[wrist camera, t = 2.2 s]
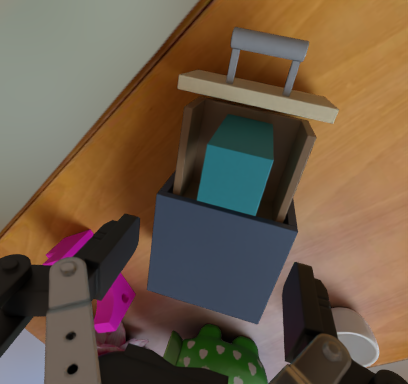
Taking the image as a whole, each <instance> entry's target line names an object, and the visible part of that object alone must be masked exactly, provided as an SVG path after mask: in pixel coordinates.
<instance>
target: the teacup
mask: <svg viewBox="0 0 408 384" xmlns="http://www.w3.org/2000/svg"><path fill="white" fill-rule="evenodd" d="M331 310H332V314H333V319H334V323H335V327H336V332H337V336H338V340H340V341H341V342H342V343H343V344H344V345H345V347H346V348H347V350H348V351H349V353H350V356H351V358H352V359H353V360H354V361H355V362H357V363H358V364H360V365H362V366H363V367H367V366H370V365H371V364H373V363H374V362H375V361H376V360H377V359H378V357H379V347H378V343H377V341H376V338H375V336H374V334H373V332H372V330H371V328H370V326H369V324H368V323H367V322H366V320H365V319H364V318H363V317H362V316H361V315H360V314H358V313H357V312H355V311H353V310H351V309H348V308H342V307H337V308H331Z"/></svg>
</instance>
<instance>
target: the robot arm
mask: <svg viewBox="0 0 408 384" xmlns="http://www.w3.org/2000/svg"><path fill="white" fill-rule="evenodd" d="M139 228H140V218H139V217H136V216H133V215H129V214H124V215H123V216H122V217H121V218H120V219H119V220H118V221H114V220H112V221H110V222H108V223H106V224H104V225H103V226H102V227H101V228H100V229H99V230H98V231H97V232H96V233H95V234H94V235H93V236H92V238H90V239H89V240H88V241H87V242H86V243H85V244H84V245H83V246H82V247H81V249H80V250H79V251H78V252H77V253H76V254H75V255H74V256H73V257H66V258H63V259H60V260H58V261H57V262H55V263H54V264H53V265H31V262H30V259H29V258H28V257H27V256H25V255H20V254H14V255H8V256H5V257H3V258H0V357H1V356H2V355H3V353H5V351H6V350H7V349H8V348H9V346H10V345H11V344H12V343H13V341H14V340H15V339H16V338H17V336H18V335H19V334H20V333H21V331H22V330H23V329H24V328H25V327H26V325H27V324H28V323H29V322H30V320H31V319H32V318H33V317H34V316H46V343H45V346H46V347H45V377H44V378H45V379H44V384H228V379H229V376H226V375H224V374H221V373H218V372H215V371H212V370H209V369H206V368H198V367H179V366H175V365H173V364H171V363H170V362H168V361H167V360H165V359H164V358H163V357H161V356H160V355H158V354H157V353H155V352H154V351H152V350H149V349H146V348H143V347H140V346H137V345H134V344H131V343H128V345H127V347H126V349H125V351H112V352H108V353H105V354H101V355H99V356H98V352H97V344H96V336H95V327H94V319H93V311H92V303H91V301H92V300H93V299H96V300H99V301H102V299H103V298H104V296H105V295H106V293H107V292H108V290H109V289H110V287H111V286H112V284H113V283H114V281H115V280H116V279H117V277H118V276H119V274H120V273H121V271H122V270H123V268H124V267H125V265H126V264H127V262H128V261H129V259H130V258H131V256H132V255H133V253H134V252H135V250H136V248H137V245H138V241H139ZM282 302H283V326H284V350H285V361H286V362H289V363H291V364H287V365H286V366H285V367H284V368H283V369H282V370H281V371H280V372H279V373H278V374H277V375H276V376H275V377H274V378H273V379H272V380H271V381H270V383H269V384H408V383H407V382H406V381H405V380H404V379H403V378H402V377H401V376H399V375H398V374H396V373H394V372H392V371H389V370H379V371H378V372H377V373H376V374H375V373H373V372H371V371H370V370H368V369H367V368H365V367H363V366H362V365H360V364H358V363H357V362H355V361H354V360H353V359H352V358H351V356H350V353H349V351H348V350H347V348H346V347H345V345H344V344H343V343H342V342H341V341H340V340H338V336H337V332H336V327H335V323H334V319H333V314H332V310H331V305H330V301H329V297H328V292H327V289H326V288H325V286H324V285H323V283H322V282H321V280H318V279H315V278H314V275H313V270H312V267H311V266H308V265H305V264H301V263H298V262H295V263H294V264H293V266H292V269H291V271H290V273H289V275H288V277H287V280H286V282H285V284H284V287H283V293H282Z"/></svg>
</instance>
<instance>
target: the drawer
mask: <svg viewBox="0 0 408 384" xmlns="http://www.w3.org/2000/svg"><path fill="white" fill-rule="evenodd" d="M308 46H309V41H305V40H300V39H295V38H290V37H284V36H279V35H274V34H269V33H264V32H259V31H254V30H248V29H243V28H238V27H235V28H234V30H233V33H232V38H231V48H233V49H232V54H231V59H230V64H229V69H228V74H227V76H226V75H221V74H217V73H212V72H207V71H203V70H194V71H191V72H187V73H183V74H180V75H179V79H178V87H177V88H178V89H180V90H185V91H189V92H194V93H198V94H203V95H207V96H212V97H216V98H221V99H225V100H229V101H234V102H238V103H243V104H247V105H252V106H256V107H261V108H265V109H270V110H274V111H278V112H283V113H287V114H292V115H296V116H301V117H305V118H310V119H314V120H319V121H323V122H328V123H332V124H333V123H334V121H335V118H336V116H337V113H338V111H339V109H338V108H337V107H335V106H334V105H333V104H332V103H331V102H330V101H329V100H328V99H327V98H325V97H324V96H319V95H315V94H310V93H305V92H301V91H296V90H292V87H293V83H294V80H295V77H296V74H297V71H298V68H299V64H300V62H303V60H304V58H305V56H306V53H307V50H308ZM240 50H245V51H250V52H255V53H260V54H265V55H270V56H275V57H280V58H285V59H290V60H293V61H292V63H291V67H290V70H289V73H288V77H287V80H286V83H285V87H284V88H282V87H277V86H273V85H268V84H263V83H259V82H254V81H249V80H245V79H240V78H235V72H236V67H237V63H238V58H239V53H240ZM299 61H300V62H299ZM227 114H231V115H235V116H240V117H244V118H248V119H253V120H257V121H261V122H266V123H270V124H273V159H274V161H273V164H272V167H271V170H270V173H269V176H268V179H267V182H266V185H265V189H264V192H263V195H262V198H261V201H260V204H259V207H258V210H257V213H256V216H257V217H261V218H265V219H269V220H272V221H276V222H280V223H283V222H284V219H285V217H286V214H287V211H288V209H289V206H290V204H291V201H292V199H293V196H294V194H295V191H296V188H297V186H298V183H299V181H300V178H301V176H302V173H303V171H304V168H305V165H306V163H307V160H308V158H309V155H310V153H311V150H312V148H313V145H314V142H315V140H316V135H315V133H314V131H313V130H312V128H311V126H310V124H309V121H307V120H303V119H299V118H294V117H290V116H285V115H281V114H276V113H272V112H268V111H263V110H259V109H254V108H250V107H245V106H241V105H236V104H232V103H228V102H223V101H219V100H214V99H210V98H205V97H201V96H200V97H199V98H197V99H195V100H194V101H192V102H191V103H189V104H188V105H186V106H185V107H184V114H183V121H182V128H181V136H180V143H179V151H178V158H177V165H176V173H175V180H174V188H173V194H175V195H179V196H183V197H187V198H190V199H194V200H197V195H198V190H199V185H200V179H201V174H202V169H203V163H204V158H205V153H206V147H207V144H208V142H209V141H210V139H211V138H212V136H213V135H214V134H215V132H216V131H217V129H218V128H219V126H220V125H221V123H222V122H223V120H224V119H225V117H226V116H227Z"/></svg>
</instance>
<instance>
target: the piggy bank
mask: <svg viewBox="0 0 408 384" xmlns="http://www.w3.org/2000/svg"><path fill="white" fill-rule="evenodd" d="M163 358H164V359H165V360H167V361H168V362H170V363H171V364H173V365H175V366H179V367H198V368H206V369H209V370H212V371H215V372H218V373H221V374H224V375H226V376H229V379H228V384H268V380H267V376H266V373H265V369H264V367H263V365H262V363H261V361H260V359H259V356H258V349H257V346H256V345H255V343H254V341H252V340H250V339H248V338H246V337H243V336H239V337H237V338H236V339H235V340H233V342H232V343H231V344H230V343H227V342H224V341H223V340H222V339H221V331H220V329H219V327H218V326H216V325H212V324H207V325H205V326H204V327H202V328H201V330H200V332H199V334H198V336H197V337H196V338H192V339H185V340H182V337H181V336H180V335H179V334H178V333H177V332H176V331H174V330H173V331H172V334H171V336H170V339H169V342H168V345H167V348H166V351H165V353H164V356H163Z"/></svg>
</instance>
